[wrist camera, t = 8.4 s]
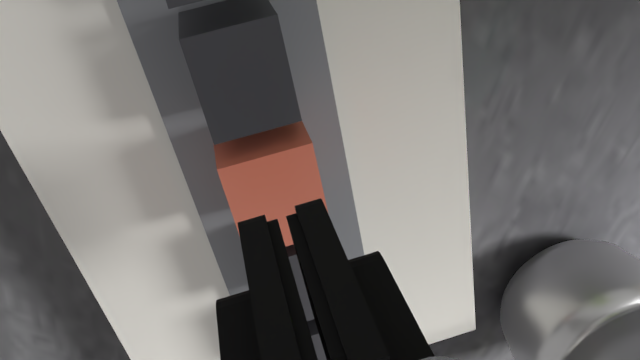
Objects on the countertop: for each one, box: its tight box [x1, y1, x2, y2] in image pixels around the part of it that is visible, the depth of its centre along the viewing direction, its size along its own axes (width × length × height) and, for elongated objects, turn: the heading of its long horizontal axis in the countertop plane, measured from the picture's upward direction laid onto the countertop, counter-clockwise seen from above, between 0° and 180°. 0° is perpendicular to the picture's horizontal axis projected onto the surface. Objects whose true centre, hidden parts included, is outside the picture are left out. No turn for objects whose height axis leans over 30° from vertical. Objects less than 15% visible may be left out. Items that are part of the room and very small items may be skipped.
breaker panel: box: [0, 0, 476, 360], centre depth 15 cm, size 12×20×6 cm, turn 11°
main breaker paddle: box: [213, 121, 328, 247], centre depth 14 cm, size 2×3×2 cm
